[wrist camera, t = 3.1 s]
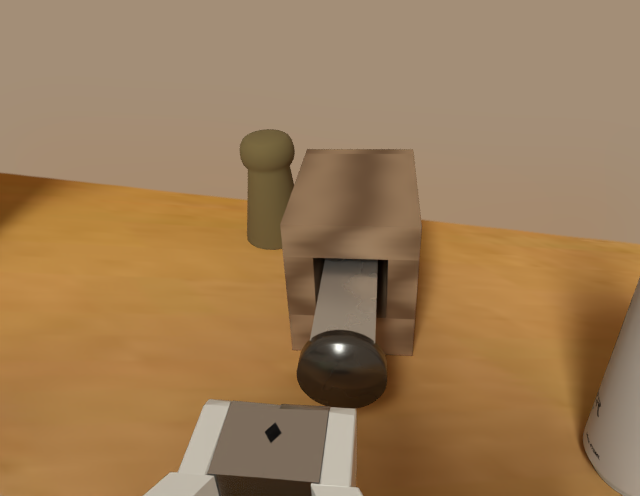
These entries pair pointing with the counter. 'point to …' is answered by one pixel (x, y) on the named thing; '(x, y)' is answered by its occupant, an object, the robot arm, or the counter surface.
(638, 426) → the energy drink can
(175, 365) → the counter surface
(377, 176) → the block
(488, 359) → the counter surface
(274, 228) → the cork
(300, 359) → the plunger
